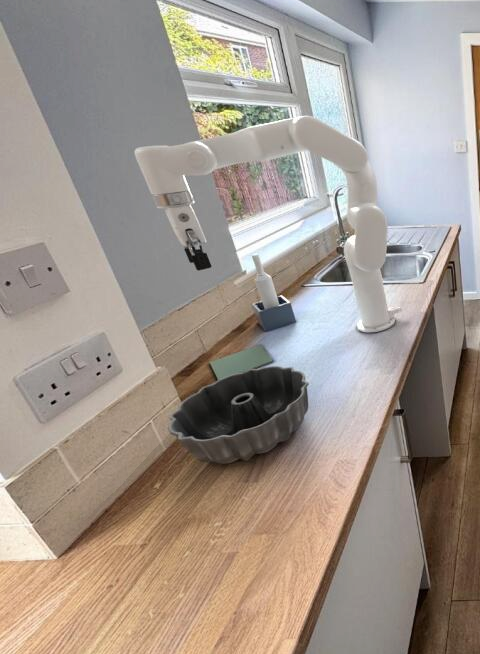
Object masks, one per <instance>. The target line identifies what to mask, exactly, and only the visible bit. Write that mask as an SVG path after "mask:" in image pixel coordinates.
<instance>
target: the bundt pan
mask: <svg viewBox="0 0 480 654" xmlns="http://www.w3.org/2000/svg"><path fill="white" fill-rule="evenodd" d="M309 385H310V384H309V382H308V381H307V380H306V374H305V373H304V372H303V371H301V370H295V369H294V367H292V366H289V367H283V366H278V365H272V366H265V367H264V366H263V367H259V368H256V369H249V370H247V371H245V372H243V373H237V374H233V375H230V376H227V377H224V378H222V379H220V380H218V379H217V380H216V381H215V382H213V383H211V384H208V385H205V386H202V387H201V388H200V389H199V390H198V392H196V393H193V394H191V395H190V396H188V397H186V398H185V399H184V400H183V401H182V402H180V404H179V405H178V407H177V410H176V411H175V412H172V414H170V415H169V417H168V418H169V420H170V423H168V426H167V427H168V428H167V430H168V432H169V433H170V435H172V436H175V437H176V438H177V440H178V441H179V442H180V443H181V444H182V446H184V448H185V449H186V450H187V451H188V452H189V453H190V454H192V455H193V456H194V457H195V459H196V460H198V461H199V462H201V463H217V464H223V465H224V464H230V463H233V462H235V461H237V460H242V461H249V460H250V459H251V458H253V456H255V455H256V454H264V453H267V452H269V451H271V450H273V449H274V448H275V447H276V446H277V445H278V444H279V443H282V442H286V441H289V439H290V437H291V435H292V433H293V432H295V431H296V430H298V429H299V428H300V427H301V425H302V423H303V421H304V419H305V415H306V414H307V412H308V410H309V395H308V386H309Z"/></svg>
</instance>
